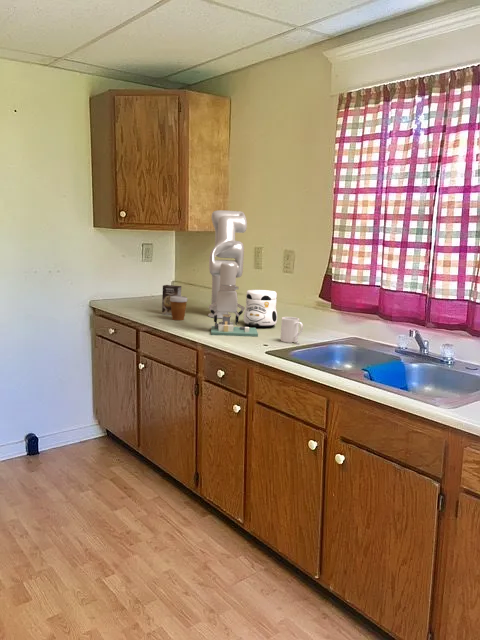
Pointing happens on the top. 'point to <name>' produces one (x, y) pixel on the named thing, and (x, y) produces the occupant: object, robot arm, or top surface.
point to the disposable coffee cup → (178, 307)
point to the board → (233, 330)
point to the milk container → (260, 308)
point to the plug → (226, 319)
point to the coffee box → (167, 293)
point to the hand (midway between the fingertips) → (226, 323)
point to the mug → (290, 329)
